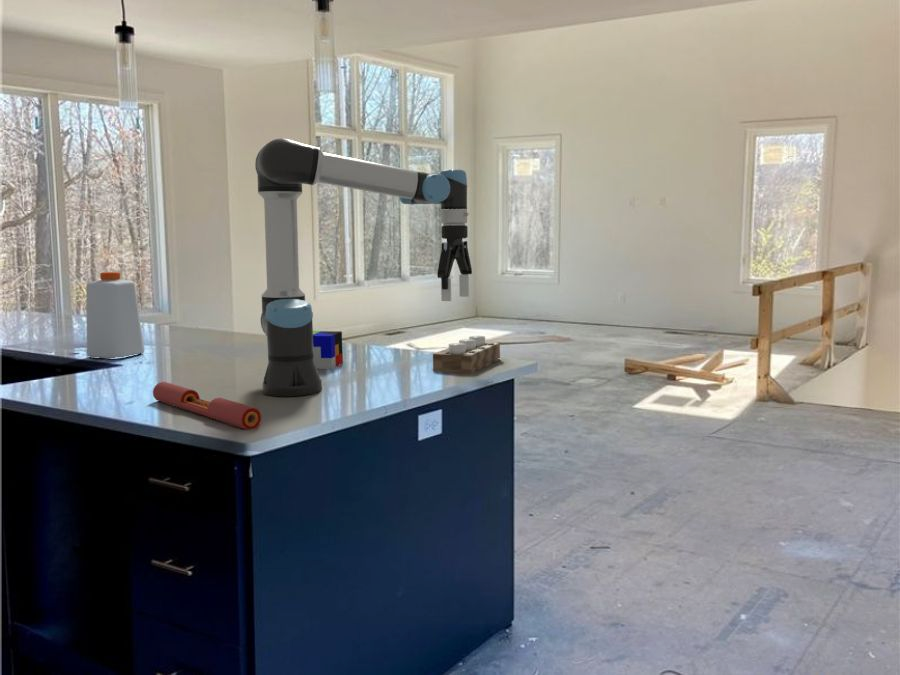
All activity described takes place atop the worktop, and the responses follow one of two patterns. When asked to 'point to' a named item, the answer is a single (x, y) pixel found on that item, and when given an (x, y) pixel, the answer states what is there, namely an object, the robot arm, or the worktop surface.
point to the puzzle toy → (327, 349)
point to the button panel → (466, 359)
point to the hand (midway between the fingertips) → (455, 298)
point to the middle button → (469, 344)
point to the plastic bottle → (112, 317)
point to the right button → (478, 340)
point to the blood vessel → (208, 406)
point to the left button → (457, 348)
